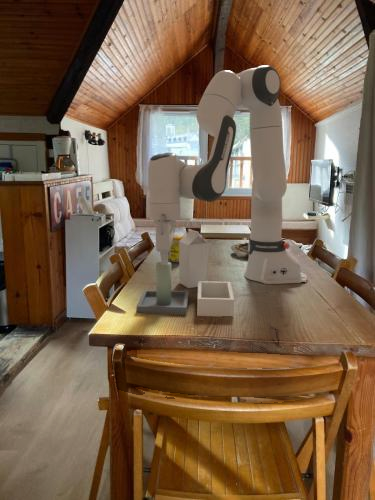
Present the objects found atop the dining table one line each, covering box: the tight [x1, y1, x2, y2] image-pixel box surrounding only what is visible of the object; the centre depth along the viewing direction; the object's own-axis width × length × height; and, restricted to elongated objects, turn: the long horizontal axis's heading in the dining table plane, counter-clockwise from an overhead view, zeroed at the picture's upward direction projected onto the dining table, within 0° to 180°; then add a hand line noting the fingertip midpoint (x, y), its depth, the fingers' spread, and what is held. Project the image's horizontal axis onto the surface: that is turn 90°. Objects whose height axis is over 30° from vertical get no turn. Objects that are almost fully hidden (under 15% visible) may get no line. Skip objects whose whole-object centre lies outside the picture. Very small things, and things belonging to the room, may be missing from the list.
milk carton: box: [178, 228, 208, 289], centre depth 134 cm, size 7×7×19 cm
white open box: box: [196, 280, 235, 317], centre depth 116 cm, size 10×16×5 cm, turn 178°
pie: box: [230, 242, 249, 260], centre depth 179 cm, size 28×27×5 cm
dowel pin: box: [155, 261, 172, 305], centre depth 115 cm, size 4×4×12 cm
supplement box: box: [168, 234, 185, 265], centre depth 165 cm, size 6×6×11 cm
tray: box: [136, 289, 189, 315], centre depth 116 cm, size 14×14×2 cm
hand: (166, 260), depth 113 cm, fingers open, 8 cm apart
